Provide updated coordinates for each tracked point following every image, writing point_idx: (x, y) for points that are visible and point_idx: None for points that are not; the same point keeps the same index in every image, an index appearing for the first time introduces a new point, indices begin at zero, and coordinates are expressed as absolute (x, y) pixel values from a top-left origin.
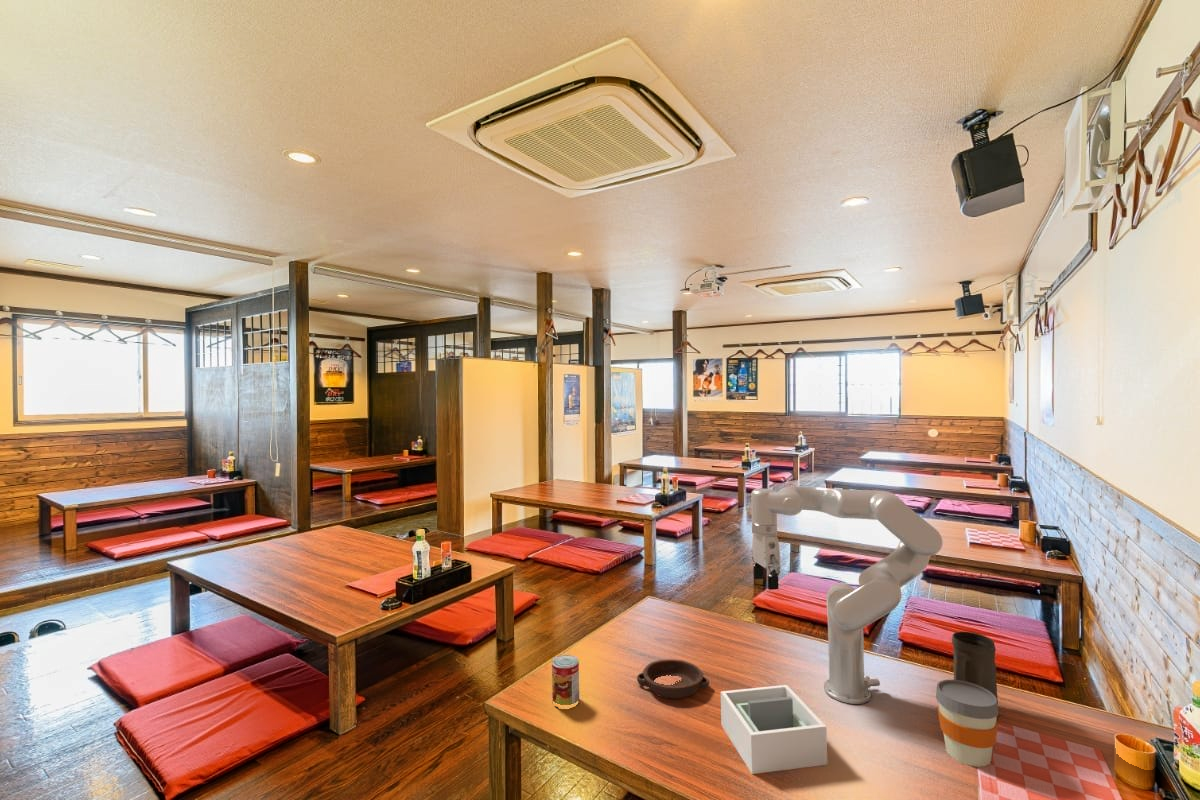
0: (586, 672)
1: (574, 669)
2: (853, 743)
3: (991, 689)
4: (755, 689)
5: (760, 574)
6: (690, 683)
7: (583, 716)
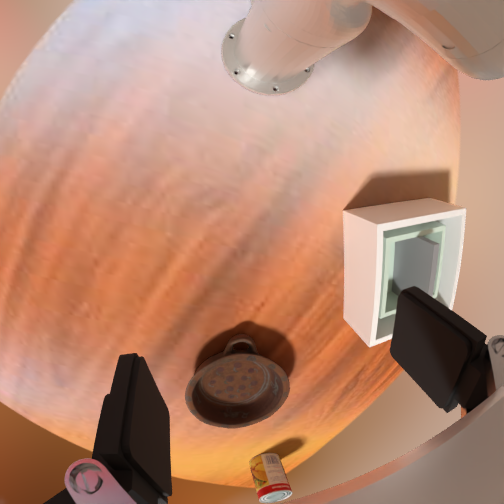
0: (194, 457)
1: (287, 486)
2: (403, 136)
3: None
4: (379, 291)
5: (148, 406)
6: (280, 374)
7: (293, 444)
